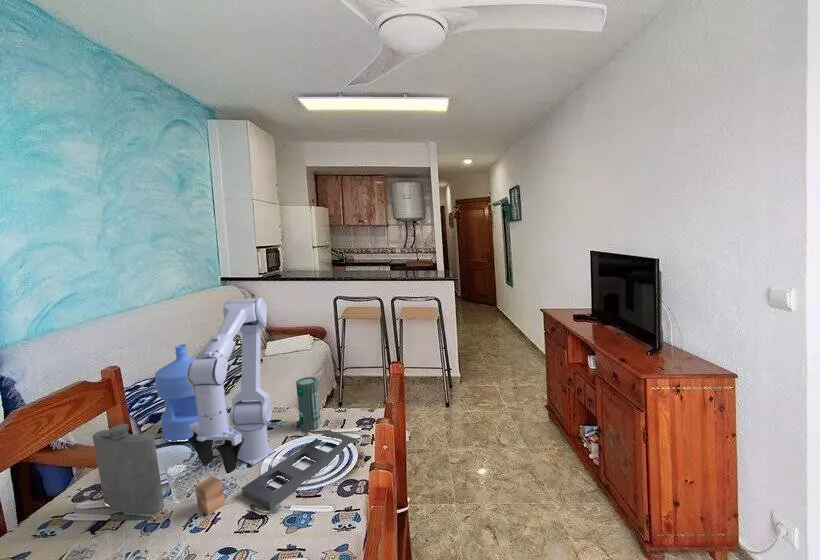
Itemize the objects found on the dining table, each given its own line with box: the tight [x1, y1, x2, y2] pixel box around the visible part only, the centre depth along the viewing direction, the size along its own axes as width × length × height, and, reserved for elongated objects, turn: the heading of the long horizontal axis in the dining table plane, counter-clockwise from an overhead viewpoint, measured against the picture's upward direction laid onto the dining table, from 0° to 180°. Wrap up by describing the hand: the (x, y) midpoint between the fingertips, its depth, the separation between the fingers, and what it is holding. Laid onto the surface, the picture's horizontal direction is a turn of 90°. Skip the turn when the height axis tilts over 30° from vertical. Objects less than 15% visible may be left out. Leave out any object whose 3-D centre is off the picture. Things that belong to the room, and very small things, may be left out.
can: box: [295, 376, 322, 432], centre depth 128 cm, size 6×6×15 cm
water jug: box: [154, 344, 199, 441], centre depth 127 cm, size 16×16×28 cm
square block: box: [194, 475, 226, 516], centre depth 93 cm, size 4×4×6 cm
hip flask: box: [92, 423, 165, 515], centre depth 94 cm, size 16×4×20 cm, turn 76°
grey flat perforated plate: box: [241, 429, 356, 511], centre depth 107 cm, size 10×30×2 cm, turn 148°
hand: (219, 467), depth 93 cm, fingers open, 7 cm apart
